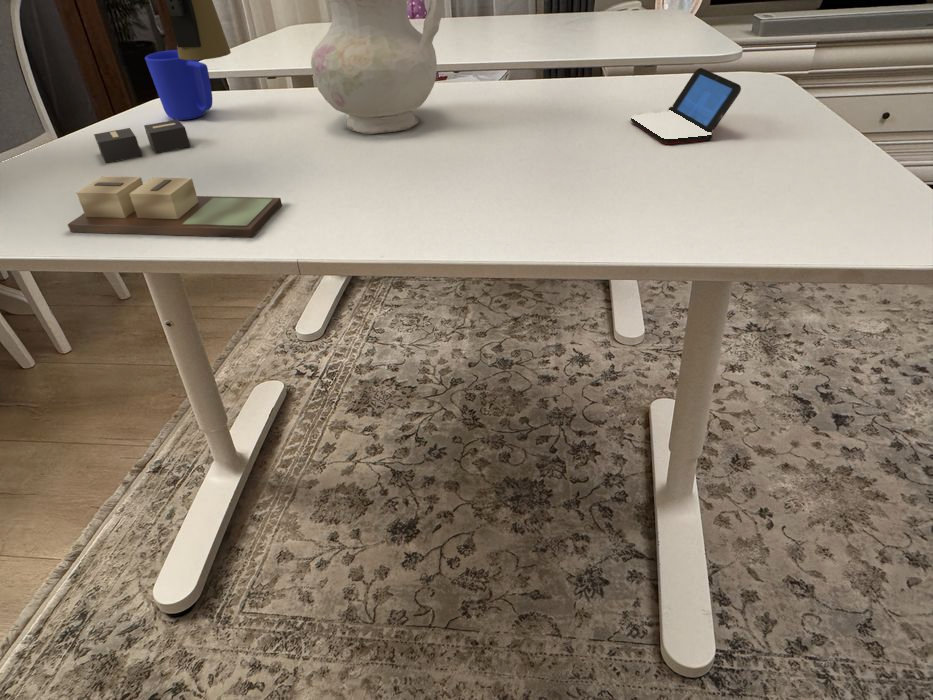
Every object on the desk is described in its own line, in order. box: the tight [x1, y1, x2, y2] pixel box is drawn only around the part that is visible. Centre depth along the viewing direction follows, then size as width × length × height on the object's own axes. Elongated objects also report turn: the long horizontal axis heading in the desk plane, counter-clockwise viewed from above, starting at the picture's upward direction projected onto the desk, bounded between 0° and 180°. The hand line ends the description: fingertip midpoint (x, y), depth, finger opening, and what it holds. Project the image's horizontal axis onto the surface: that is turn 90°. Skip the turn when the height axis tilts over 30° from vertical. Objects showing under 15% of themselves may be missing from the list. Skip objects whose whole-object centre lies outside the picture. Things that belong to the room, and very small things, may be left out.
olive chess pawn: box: [176, 0, 232, 61], centre depth 75 cm, size 6×6×11 cm
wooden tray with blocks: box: [67, 176, 283, 238], centre depth 75 cm, size 22×9×4 cm, turn 82°
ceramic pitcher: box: [310, 0, 445, 136], centre depth 98 cm, size 22×20×25 cm
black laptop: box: [630, 67, 742, 145], centre depth 95 cm, size 12×11×7 cm
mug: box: [144, 49, 213, 121], centre depth 109 cm, size 8×12×10 cm
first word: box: [93, 119, 191, 164], centre depth 97 cm, size 5×12×3 cm, turn 122°
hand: (199, 42), depth 77 cm, fingers closed on olive chess pawn, 4 cm apart
